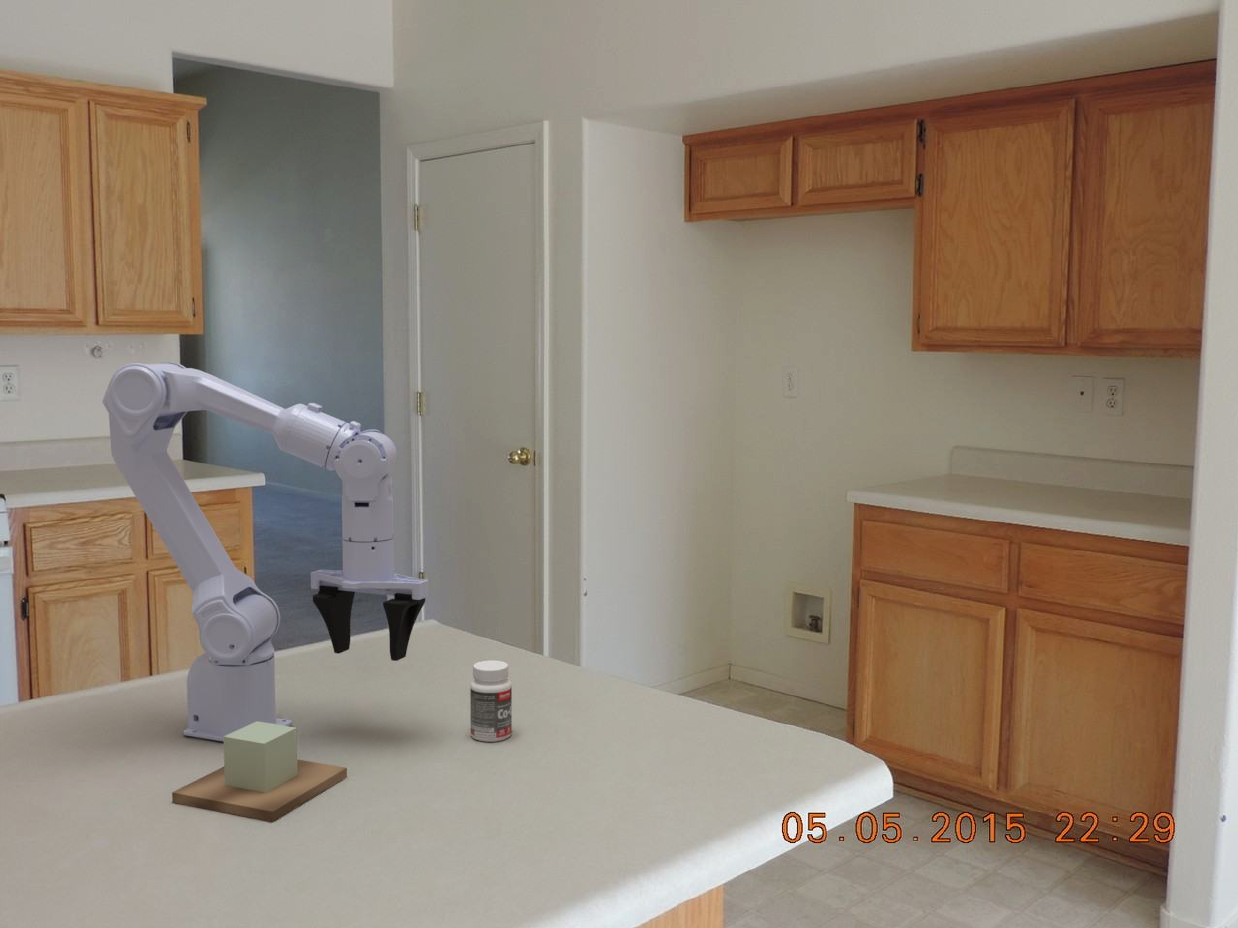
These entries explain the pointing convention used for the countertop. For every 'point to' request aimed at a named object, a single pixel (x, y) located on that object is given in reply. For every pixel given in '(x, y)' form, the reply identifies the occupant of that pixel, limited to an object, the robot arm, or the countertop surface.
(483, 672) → the pill bottle
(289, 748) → the sage cube
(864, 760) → the countertop surface
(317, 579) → the robot arm
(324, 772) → the walnut pad
